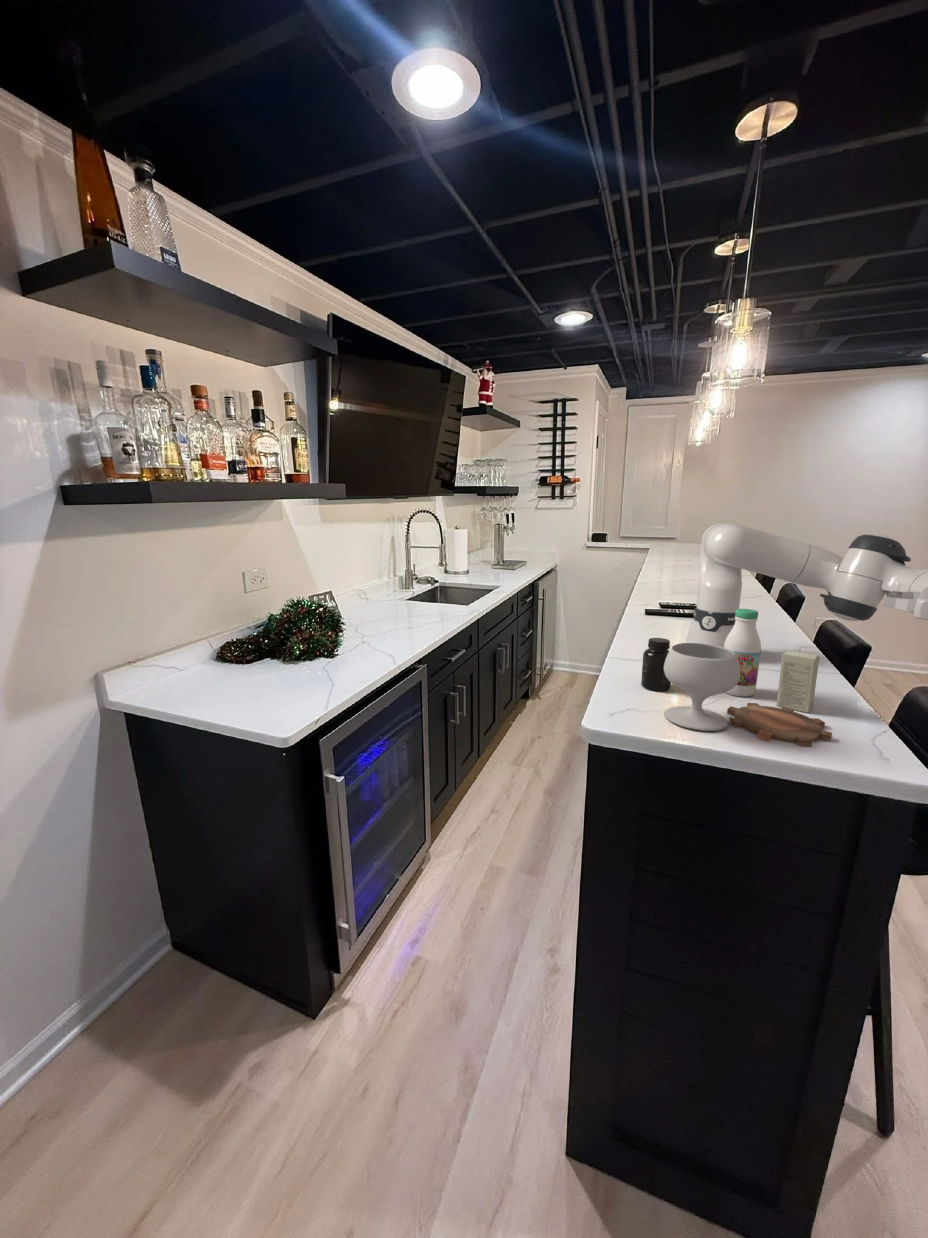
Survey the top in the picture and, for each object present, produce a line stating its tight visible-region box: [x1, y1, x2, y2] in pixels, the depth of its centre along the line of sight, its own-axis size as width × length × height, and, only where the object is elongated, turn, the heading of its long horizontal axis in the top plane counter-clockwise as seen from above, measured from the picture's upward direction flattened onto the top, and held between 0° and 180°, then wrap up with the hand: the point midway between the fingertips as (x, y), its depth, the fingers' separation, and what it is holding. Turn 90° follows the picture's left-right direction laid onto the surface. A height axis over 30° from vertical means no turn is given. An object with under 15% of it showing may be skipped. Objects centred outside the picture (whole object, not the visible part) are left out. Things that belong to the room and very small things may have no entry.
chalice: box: [663, 642, 740, 732], centre depth 101 cm, size 14×14×15 cm
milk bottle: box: [723, 608, 762, 698], centre depth 117 cm, size 8×8×20 cm
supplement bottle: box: [640, 637, 672, 692], centre depth 121 cm, size 7×7×12 cm
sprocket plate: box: [726, 702, 833, 747], centre depth 100 cm, size 18×18×1 cm
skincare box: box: [775, 650, 820, 713], centre depth 109 cm, size 6×4×12 cm
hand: (886, 598), depth 96 cm, fingers open, 8 cm apart
